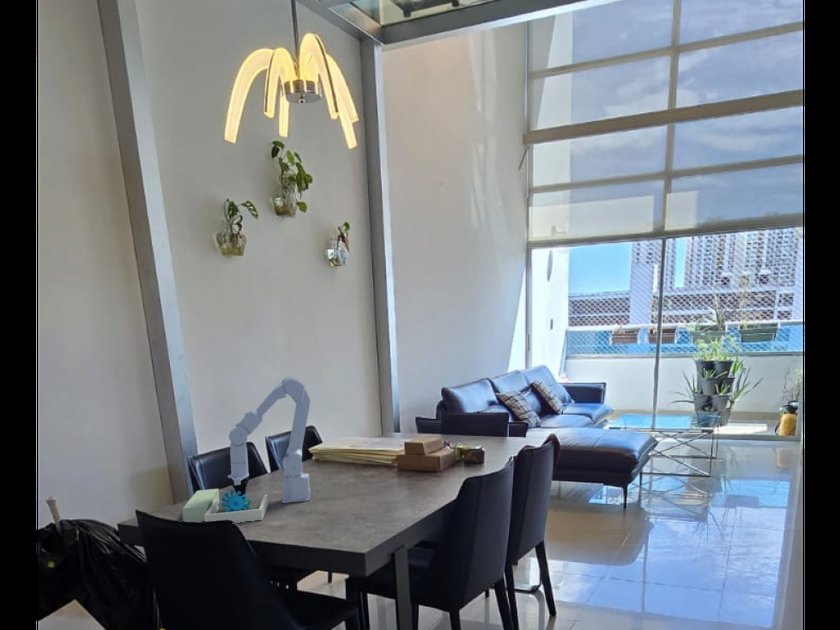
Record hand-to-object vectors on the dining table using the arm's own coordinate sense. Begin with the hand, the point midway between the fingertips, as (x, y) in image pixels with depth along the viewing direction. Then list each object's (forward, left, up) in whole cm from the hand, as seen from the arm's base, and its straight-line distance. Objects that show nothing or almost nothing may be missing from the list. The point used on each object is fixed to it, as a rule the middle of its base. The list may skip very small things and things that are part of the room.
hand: (241, 500), depth 208 cm
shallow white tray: (0, +8, -2) cm, 8 cm away
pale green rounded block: (+13, +1, -2) cm, 13 cm away
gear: (0, +7, -3) cm, 8 cm away
